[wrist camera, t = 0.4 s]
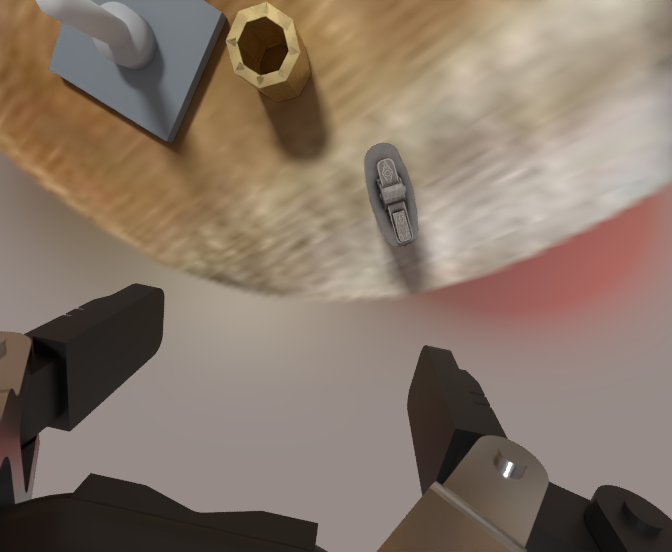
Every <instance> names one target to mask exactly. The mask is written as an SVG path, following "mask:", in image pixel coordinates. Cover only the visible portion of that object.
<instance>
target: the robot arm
mask: <svg viewBox="0 0 672 552" xmlns="http://www.w3.org/2000/svg"><path fill="white" fill-rule="evenodd" d="M163 318H164V292H163V290H162V289H160V288H156V287H151V286H146V285H142V284H137V283H136V284H132V285H130V286H128V287H126V288H124V289H122V290H121V291H118V292H117V293H115V294H113V295H110V296H106V297H103V298H98V299H94V300H92V301H90V302H88V303H86V304H84V305H82V306H80V307H79V308H78V309H74V310H72V311H70V312H68V313H66V315H62V316H60V317H58V318H56V319H54V320H52V321H50V322H48V323H46V324H44V325H42V326H40V327H38V328H36V329H34V330H32V331H30V332H28V333H26V334H20V333H15V332H0V552H327V551H326V550H324V549H322V548H321V547H319V546H317V545H315V544H316V536H317V528H318V523H314V522H309V521H305V520H300V519H296V518H291V517H287V516H282V515H278V514H273V513H269V512H264V511H246V512H214V513H199V512H195V511H192V510H190V509H188V508H187V507H185V506H183V505H181V504H179V503H177V502H175V501H174V500H172V499H170V498H168V497H166V496H165V495H163V494H161V493H159V492H157V491H155V490H153V489H152V488H150V487H148V486H146V485H142V484H137V483H133V482H128V481H124V480H119V479H114V478H110V477H105V476H101V475H96V474H92V473H90V475H89V476H88V477H87V478H86V479H85V480H84V481H83V482H82V484H81V485H80V486H79V487H78V488H77V489H76V490H75V491H74V492H73V493H64V494H56V495H49V496H44V497H39V498H35V499H32V492H33V485H34V479H35V472H36V465H37V458H38V451H39V445H40V440H39V432H41V431H42V430H43V429H44V428H45V427H52V428H56V429H61V430H65V431H71V430H72V429H73V428H74V427H75V426H76V425H78V424H79V423H80V422H81V421H82V420H83V419H84V418H85V417H86V416H88V415H89V414H90V413H91V412H92V411H93V410H94V409H95V408H96V407H97V406H99V405H100V404H101V403H102V402H103V401H104V400H105V399H106V398H107V397H108V396H110V394H112V393H113V392H114V391H115V390H116V389H117V388H118V387H120V386H121V385H122V384H123V383H124V382H125V381H126V380H127V379H128V378H129V377H130V376H132V375H133V374H134V373H135V372H136V371H137V370H138V369H139V368H141V367H142V366H143V365H144V364H145V363H146V362H147V361H148V360H149V359H151V358H152V357H153V356H154V355H155V354H156V352H157V351H158V349H159V347H160V344H161V341H162V337H163ZM407 403H408V404H407V410H408V416H409V421H410V427H411V433H412V438H413V445H414V450H415V456H416V462H417V468H418V474H419V479H420V485H421V490H422V497H421V498H420V500H419V501H418V502H417V503H416V504H415V506H414V507H413V508H412V509H411V511H410V512H409V513H408V514H407V515H406V517H405V518H404V519H403V520H402V522H401V523H400V524H399V525H398V526H397V528H396V529H395V530H394V531H393V532H392V534H391V535H390V536H389V537H388V539H387V540H386V541H385V542H384V543H383V545H382V546H381V547H380V548H379V550H378V551H377V552H672V520H671V519H670V518H669V517H668V516H667V515H665V514H664V513H663V512H662V511H661V510H660V509H658V508H657V507H656V506H654V505H653V504H651V503H650V502H648V501H647V500H645V499H644V498H642V497H640V496H639V495H637V494H635V493H633V492H631V491H628V490H626V489H623V488H620V487H617V486H612V485H604V486H600V487H598V489H597V490H596V492H595V493H594V495H593V497H592V499H591V501H590V500H588V499H586V498H584V497H581V496H579V495H577V494H575V493H573V492H570V491H568V490H565V489H564V488H561V487H559V486H557V485H555V484H553V483H551V482H549V479H548V474H547V472H546V470H545V469H544V467H543V465H542V464H541V462H539V461H538V459H537V458H536V457H535V456H534V455H533V454H531V453H530V452H529V451H528V450H526V449H525V448H524V447H522V446H520V445H519V444H517V443H515V442H513V441H511V440H509V439H508V438H507V437H506V435H505V433H504V431H503V429H502V427H501V425H500V423H499V421H498V419H497V417H496V415H495V413H494V412H493V410H492V408H490V404H489V402H488V400H487V398H486V397H484V392H483V391H482V389H481V387H480V385H479V383H478V382H477V381H476V380H475V379H474V378H473V377H472V376H471V375H470V374H469V373H468V372H467V371H466V370H461V369H459V368H458V366H457V363H456V361H455V359H454V357H453V355H452V353H451V351H450V350H446V349H440V348H436V347H431V346H427V345H425V346H424V347H423V349H422V351H421V353H420V357H419V360H418V363H417V366H416V370H415V373H414V377H413V379H412V383H411V386H410V389H409V395H408V402H407Z"/></svg>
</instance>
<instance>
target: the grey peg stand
mask: <svg viewBox="0 0 672 552" xmlns="http://www.w3.org/2000/svg"><path fill="white" fill-rule="evenodd" d="M36 2H37V4H38V6H39V7H40V9H41V10H42V11H43V12H44V13H46V14H47V15H49V16H51V17H53V18H55V19H57V20H59V21H61V22H62V25H61V28H60V31H59V35H58V38H57V41H56V44H55V48H54V51H53V54H52V58H51V61H50V64H49V67H48V69H50V70H51V71H53V72H55V73H56V74H58V75H59V76H61V77H63V78H64V79H66V80H68V81H69V82H71V83H72V84H74V85H76V86H77V87H79V88H80V89H82V90H84V91H85V92H87V93H89V94H90V95H92V96H93V97H95V98H97V99H98V100H100V101H101V102H103V103H105V104H106V105H108V106H110V107H111V108H113V109H114V110H116V111H118V112H119V113H121V114H123V115H124V116H126V117H127V118H129V119H131V120H132V121H134V122H135V123H137V124H139V125H140V126H142V127H144V128H145V129H147V130H148V131H150V132H152V133H153V134H155V135H156V136H158V137H160V138H161V139H163V140H165V141H166V142H172V143H173V141H174V139H175V137H176V135H177V132H178V130H179V128H180V125H181V123H182V121H183V118H184V116H185V114H186V111H187V109H188V107H189V104H190V102H191V100H192V98H193V95H194V93H195V91H196V88H197V86H198V84H199V81H200V79H201V77H202V74H203V72H204V70H205V67H206V65H207V63H208V60H209V58H210V56H211V54H212V51H213V49H214V47H215V44H216V42H217V40H218V37H219V35H220V33H221V30H222V28H223V26H224V23H225V21H226V19H227V18H226V17H225V16H224V14H223V13H222V12H220V11H219V10H217V9H216V8H214V7H213V6H211V5H210V4H208V3H207V2H205V1H204V0H36Z"/></svg>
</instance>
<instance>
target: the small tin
mask: <svg viewBox="0 0 672 552" xmlns="http://www.w3.org/2000/svg"><path fill="white" fill-rule="evenodd" d="M364 171H365V181H366V186H367V190H368V195H369V199H370V203H371V206H372V209H373V211H374V214H375V217H376V220H377V222H378V224H379V226H380V228H381V230H382V232H383V234H384V236H385V238H386V240H387V241H388V242H389V243H390V244H391V245H393V246H398V247H401V246H406V245H408V244H410V243H411V242H413V241H414V240H415V238H416V236H417V234H418V220H417V208H416V202H415V197H414V191H413V187H412V184H411V181H410V178H409V175H408V172H407V169H406V167H405V165H404V163H403V161H402V159H401V157H400V154H399V152H398V150H397V149H396V148H395V147H394V146H393V145H391V144H388V143H380V144H376V145H374V146H372V147H371V148H370V149H369V150H368V151H367V153H366V155H365V158H364Z"/></svg>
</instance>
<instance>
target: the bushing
mask: <svg viewBox="0 0 672 552" xmlns="http://www.w3.org/2000/svg"><path fill="white" fill-rule="evenodd" d="M226 43H227V47H228V50H229V54H230V58H231V61H232V65H233V68H234V72H235V73H236V74H238V75H239V76H240V77H242V78H243V79H244V80H246V81H247V82H248V83H250V84H251V85H252V86H253V87H255V88H256V89H258V90H259V91H261V92H262V93H264V94H265V95H267V96H268V97H270V98H271V99H273V100H274V101H276V102H280V101H283V100H287V99H291V98H294V97H298V96H300V94H301V92H302V90H303V88H304V86H305V84H306V82H307V80H308V79H309V77H310V75H311V70H310V66H309V61H308V57H307V53H306V48H305V45H304V43H303V41H302V39H301V37H300V35H299V32H298V30H297V28H296V26H295V24H294V22H293V20H292V19H291V18H289V17H288V16H286V15H285V14H283V13H282V12H280V11H279V10H278V9H276V8H275V7H273V6H272V5H270V4H269V3H267V2H265V3H262V4H259V5H256V6H253V7H250V8H247V9H244V10H241V11H238V14H237V16H236V18H235V21H234V23H233V25H232V27H231V30H230V32H229V34H228V37H227V39H226ZM281 44H284V45H285V46H287V47H288V50H289V51H288V53H287V55H286V57H285V59H284V61H283V63H282V65H281V67H280V70H278V71H275V72H271V73H268V74H265V75H262V73H261V69H260V66H259V65H260V62H261V60H262V58H263V56H264V54H265V52H266V50H267V49H268V48H271V47H274V46H277V45H281Z"/></svg>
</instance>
